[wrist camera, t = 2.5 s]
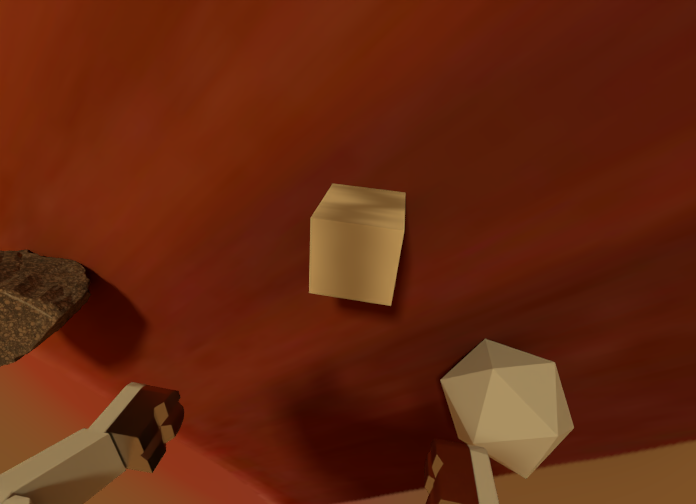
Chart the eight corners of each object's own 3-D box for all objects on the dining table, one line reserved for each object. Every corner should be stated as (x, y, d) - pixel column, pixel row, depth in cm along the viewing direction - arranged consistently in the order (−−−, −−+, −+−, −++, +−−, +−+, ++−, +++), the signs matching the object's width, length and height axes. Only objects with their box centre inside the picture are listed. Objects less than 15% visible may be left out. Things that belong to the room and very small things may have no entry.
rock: (71, 263, 24) (42, 397, 24) (131, 263, 34) (111, 358, 33) (-133, 234, 22) (-172, 381, 21) (-7, 243, 32) (-30, 344, 31)
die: (418, 352, 30) (444, 480, 26) (467, 327, 23) (515, 501, 18) (497, 346, 32) (533, 464, 28) (566, 321, 24) (631, 476, 20)
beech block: (405, 192, 22) (404, 230, 17) (394, 256, 25) (390, 306, 20) (332, 183, 23) (310, 217, 18) (329, 246, 25) (309, 292, 20)
